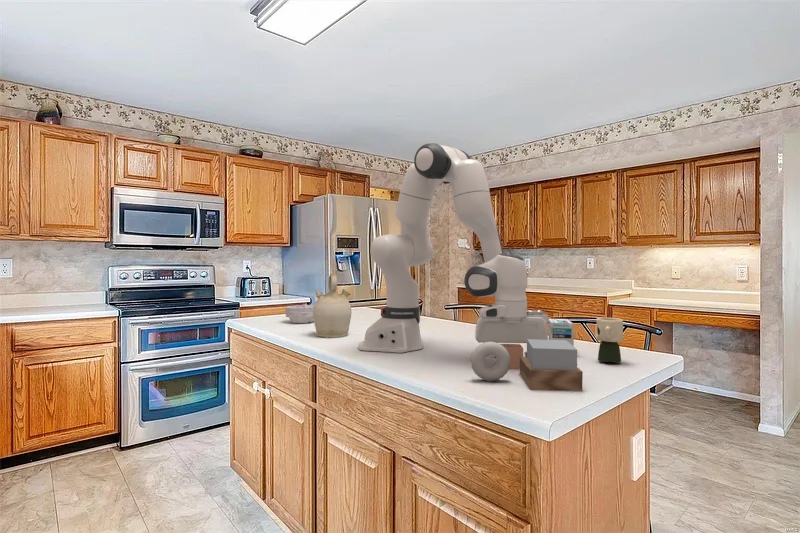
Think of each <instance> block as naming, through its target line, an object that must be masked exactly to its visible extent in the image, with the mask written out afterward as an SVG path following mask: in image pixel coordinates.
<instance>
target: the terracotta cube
mask: <svg viewBox="0 0 800 533" xmlns="http://www.w3.org/2000/svg"><path fill="white" fill-rule="evenodd" d="M499 344H500V345H502V346H503V347H504V348H505V349H506V350H507V351H508V353H509V355H510V361H511V363H510V368H509V370H520V357H524V347H523V346H522V345H521V343H499Z"/></svg>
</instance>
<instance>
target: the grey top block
mask: <svg viewBox="0 0 800 533" xmlns="http://www.w3.org/2000/svg"><path fill="white" fill-rule="evenodd" d="M526 352H527V359H528V361H529V363H530V365H531V366H532V368H533V369H544V370H569V371H577V367H578V348H576V347H575V346H572V345H571V344H570V343H569V342H568V341H566V340H549V339H548V340H538V339H527V343H526Z"/></svg>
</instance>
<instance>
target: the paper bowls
mask: <svg viewBox="0 0 800 533" xmlns="http://www.w3.org/2000/svg"><path fill="white" fill-rule="evenodd" d="M314 305H315V304H299V305H298V304H297V305H287V306H286V307H285V317H286V318H288V319H289V321H290V322H291V323H292V324H309V323H308V322H311V323H312V322H314V317H313V308H314Z"/></svg>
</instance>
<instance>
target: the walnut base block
mask: <svg viewBox="0 0 800 533" xmlns="http://www.w3.org/2000/svg"><path fill="white" fill-rule="evenodd" d="M583 373H584V372H583V371H582V370H581V369H580V368H579V367H578V366H577V371H569V370H544V369H533V368H532V366H531V365H530V363H529V361H528V359H527V357H524V356H523V357H520V369H519V376H520V378H521V379H522V380H523V382H524V384H526V386H527V388H528V389H529V390H530V391H554V392H555V391H561V392H563V391H564V392H566V391H567V392H583Z"/></svg>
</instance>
